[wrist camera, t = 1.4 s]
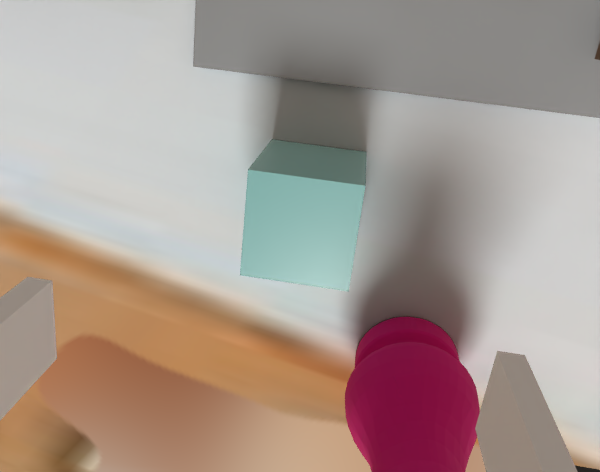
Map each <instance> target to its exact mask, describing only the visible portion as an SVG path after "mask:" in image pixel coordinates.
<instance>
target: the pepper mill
mask: <svg viewBox="0 0 600 472" xmlns="http://www.w3.org/2000/svg"><path fill="white" fill-rule="evenodd" d="M345 410H346V419H347V423H348V427H349V429H350V432H351V434H352V437H353V440H354V442H355V443H356V445H357V447H358V448H359V450H360V452H361V453H362V455H363V456H364V457H365V459H366V460H367V462H368V463H369V465H370V467H371V471H372V472H465V469H466V466H467V462H468V459H469V456H470V453H471V451H472V448H473V446H474V444H475V441H476V438H477V434H476V430H475V427H476V424H477V420H478V417H479V413H480V411H479V402H478V395H477V390H476V386H475V384H474V382H473V379H472V378H471V376H470V374H469V373H468V371H467V369H466V368H465V367H464V366H463V365H462V364H461V363H460V361H459V357H458V353H457V350H456V347H455V345H454V343H453V341H452V340H451V338H450V337H449V335H448V334H447V333H446V332H445V331H444V330H443V329H441V328H440V327H439V326H437V325H435V324H433V323H432V322H430V321H427V320H424V319H421V318H414V317H396V318H392V319H389V320H386V321H383V322H381V323H379V324H377V325H376V326H374V327H373V328H371V329H370V330H369V331H368V332H367V333H366V334H365V335H364V337H363V338H362V339H361V341H360V343H359V345H358V348H357V351H356V357H355V369H354V371H353V372H352V374H351V376H350V378H349V380H348V383H347V387H346V392H345Z"/></svg>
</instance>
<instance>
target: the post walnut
mask: <svg viewBox="0 0 600 472" xmlns="http://www.w3.org/2000/svg"><path fill="white" fill-rule="evenodd" d="M595 59H597V60H600V42H599V45H598V49H597V52H596V56H595Z"/></svg>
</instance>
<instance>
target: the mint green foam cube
mask: <svg viewBox="0 0 600 472" xmlns="http://www.w3.org/2000/svg"><path fill="white" fill-rule="evenodd" d="M365 182H366V152H363V151H355V150H348V149H340V148H333V147H326V146H318V145H311V144H303V143H296V142H288V141H281V140H273V139H272V140H271V141H270V143H269V144H268V145H267V147H266V148H265V149H264V150H263V152H262V153H261V154H260V155H259V157H258V158H257V159H256V160H255V162H254V163H253V164H252V165H251V167H250V168H249V169H248V178H247V191H246V204H245V217H244V230H243V243H242V256H241V269H240V275H242V276H249V277H256V278H262V279H269V280H275V281H282V282H289V283H295V284H302V285H309V286H315V287H322V288H328V289H335V290H342V291H348V292H349V286H350V279H351V273H352V267H353V261H354V254H355V248H356V242H357V235H358V229H359V223H360V217H361V210H362V204H363V198H364V191H365Z"/></svg>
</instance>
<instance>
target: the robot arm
mask: <svg viewBox="0 0 600 472" xmlns="http://www.w3.org/2000/svg"><path fill="white" fill-rule="evenodd" d="M56 359H57V352H56V335H55V318H54V301H53V284H52V281H51V280H44V279H38V278H32V277H27V278H26V279H24V280H23V281H22V282H20V283H19V284H18V285H16V286H15V287H14V288H13V289H11V290H10V291H9V292H7V293H6V294H5V295H3V296H2V297H1V298H0V420H1V419H2V418H3V417H4V416H5V415H6V414H7V412H8V411H9V410H10V409H11V408H12V407H13V406H14V405H15V404H16V403H17V402H18V400H19V399H20V398H21V397H22V396H23V395H24V394H25V393H26V392H27V391H28V390H29V388H30V387H31V386H32V385H33V384H34V383H35V382H36V381H37V380H38V379H39V377H40V376H41V375H42V374H43V373H44V372H45V371H46V370H47V369H48V368H49V367H50V365H51V364H52V363H53V362H54V361H55V360H56ZM475 430H476V434H477V438H478V441H479V445H480V449H481V453H482V457H483V461H484V465H485V469H486V472H600V470H597V469H592V468H586V467H580V466H575V465H574V463H573V460H572V458H571V456H570V454H569V452H568V449H567V447H566V445H565V443H564V441H563V438H562V436H561V434H560V432H559V430H558V427H557V425H556V423H555V421H554V419H553V416H552V414H551V412H550V410H549V408H548V405H547V403H546V401H545V399H544V397H543V394H542V392H541V390H540V388H539V386H538V383H537V381H536V379H535V377H534V374H533V372H532V370H531V368H530V366H529V363H528V361H527V359H526V357H525V355H520V354H513V353H507V352H501V351H497V354H496V357H495V361H494V364H493V368H492V371H491V375H490V378H489V382H488V385H487V389H486V392H485V396H484V399H483V403H482V406H481V410H480V413H479V417H478V420H477V424H476V427H475Z"/></svg>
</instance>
